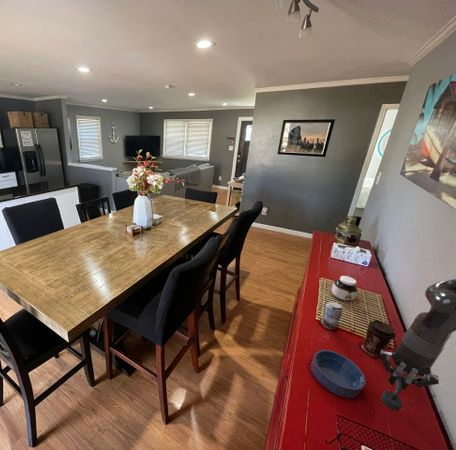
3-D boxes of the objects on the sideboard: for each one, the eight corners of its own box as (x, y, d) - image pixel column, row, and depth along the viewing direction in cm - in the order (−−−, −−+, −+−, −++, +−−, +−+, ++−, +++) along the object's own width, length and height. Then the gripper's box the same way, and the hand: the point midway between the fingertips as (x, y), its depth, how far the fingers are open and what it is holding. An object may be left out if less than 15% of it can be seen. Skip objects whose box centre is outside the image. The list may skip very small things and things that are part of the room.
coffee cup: (361, 338, 105) (372, 315, 100) (386, 351, 100) (399, 327, 95) (356, 348, 100) (367, 325, 95) (382, 362, 94) (395, 338, 89)
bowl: (363, 378, 88) (368, 369, 86) (356, 409, 78) (361, 399, 76) (316, 352, 98) (320, 343, 96) (305, 376, 88) (308, 367, 86)
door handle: (399, 414, 71) (409, 399, 69) (379, 402, 74) (389, 388, 72) (401, 379, 81) (410, 365, 79) (384, 370, 84) (392, 357, 82)
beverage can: (323, 330, 109) (331, 309, 104) (317, 318, 116) (324, 298, 111) (338, 333, 108) (347, 312, 103) (332, 321, 114) (340, 301, 110)
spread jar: (332, 299, 129) (339, 281, 125) (326, 287, 139) (332, 270, 135) (359, 304, 126) (367, 286, 121) (350, 291, 136) (358, 274, 131)
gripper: (387, 339, 72) (366, 377, 78) (456, 370, 63) (426, 411, 69) (389, 326, 77) (369, 363, 83) (454, 353, 68) (426, 393, 74)
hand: (395, 385), depth 76 cm, fingers closed on door handle, 1 cm apart
